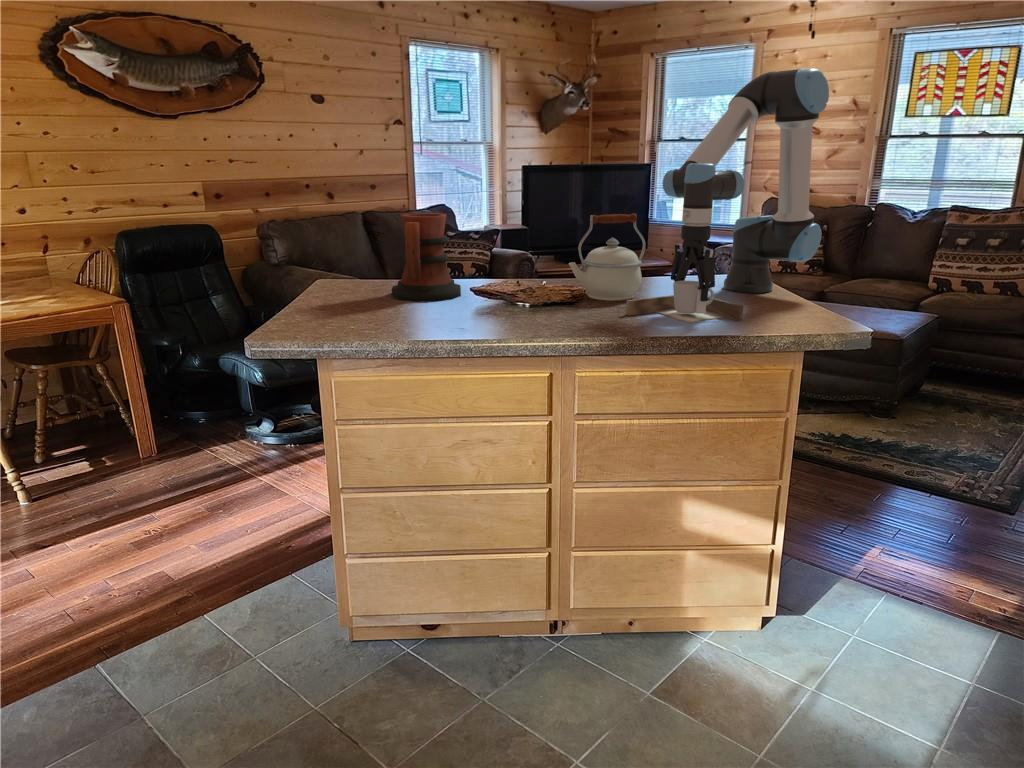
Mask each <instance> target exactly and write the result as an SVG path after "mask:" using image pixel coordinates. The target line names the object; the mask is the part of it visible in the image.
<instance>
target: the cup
mask: <svg viewBox="0 0 1024 768" xmlns="http://www.w3.org/2000/svg"><path fill="white" fill-rule="evenodd" d="M672 287H673V288H672V289H673V295H674V307H675V310H676V311H677V312H679V313H696V302H697V289H698V288H699V287H700V285H699V280H697V281H696V280H685V281H676V282H675V281H673V285H672ZM714 292H715V291H714V290H713V289H712V288H709V290H708V293H710V296H709V297H710V300H709V301H706V305H708V304H710V303H711V302H712V301H713V298H715V294H714Z"/></svg>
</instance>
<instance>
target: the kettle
mask: <svg viewBox="0 0 1024 768" xmlns="http://www.w3.org/2000/svg"><path fill="white" fill-rule="evenodd" d="M628 222H631V223H633V228H634V230H635V232H636V233H637V235H638V236H639V238H640V239H641V241H642V249H641V253H640V255H639V257H638V256H637V255H638V254H636V252H635V251H633V250H631V249H629V248H626V247H623V246H619V244H620V242H619V240H617V239H616V238H614V237H611V238H609V239H608V240H606V242H605V243H606V245H607V246H600V247H596V248H594V249H592V250H591V251H590V252H588V254H587V256H586V257H585V259H584V258H583V255H582V246H583V243H584V241H585V240H586V238H588V236H589V235H590V233H591V232H592V230H593V226H594V225H595V224H597V223H599V224H618V223H619V224H621V223H628ZM646 244H647V243H646V240H645V238H644V236H643V235H642V233H641V232H640V230H639V228H638V227H637V214H636V213H635V212H634V213H633V212H631V214H623V213H619V214H618V213H617V214H616V213H612V214H601V215H596V214H592V215H590V218H589V228H588V230H587V231H586V233H584V235H583V236H582V238H581V239H580V241H579V244H578V247H577V249H578V255H579V256H578V257H579V258H580V261H581V265H580V266H578V265H577V264H576V262H575V261H574V262H573V261H572V262H569V263H568V265H569V267H570V269H571V270H572V273H573V275H574V277H575V278H576V279H577V281H578V282H579V283H580V284H582V287H583V288H584V289H585V290H586V292H588V293H587V297H588V298H590V299H593V300H598V301H609V302H610V301H611V302H617V301H627V300H632V299H633V298H634V297H635V294H634V293H635V292H637V290H638V289H639V288H640V286H641V285H642V280H643V279H642V270H641V266H642V265H643V262H642V260H643V256H645V255H644V254H645V251H646V249H647V248H646V247H647V245H646Z"/></svg>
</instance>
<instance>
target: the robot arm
mask: <svg viewBox="0 0 1024 768" xmlns="http://www.w3.org/2000/svg"><path fill="white" fill-rule="evenodd" d="M829 97H830V89H829V83H828V80H827V77H826V76H825V75H824V73H823V72H822V71H821V70H819V69H818V68H803V67H802V68H797V69H789V70H778V71H775V70H774V71H767V72H765V73H762V74H760V75H758V76H756V77H754V79H752V80H751V81H749V82H748V83H747V84H745V85H744V86H743V87H741V89H740V90H739V91H738V92H737V93H736V94H735V95H734V96H733V97H732V98H731V100H730V101H729V103H728V105H727V110H726V111H725V112H724V114H723V115H722V116H720V117H721V118H720V119H719V120H717V122H716V123H715V125H714V126H713V127H712V128H711V130H710V131H709V132H708V133H707V134H706V136H705V137H704V138H703V140H701V142H700V143H699V144H698V146H697V147H695V149H694V151H693V152H692V153H691V154H690V155H689V156H688V158H687V159H686V160H685V162H684V163H683V164H682V165H681V166H680V168H674V169H669V170H668V171H667V172H666V173H665V174H664V175H663V179H662V188H663V192H664V193H665V195H666V196H669V197H671V198H672V197H673V198H678V199H681V198H682V199H683V205H682V215H681V217H682V218H681V219H682V220H681V223H682V226H681V229H680V230H681V231H680V238H681V240H683V241H682V243H676V244H674V256H673V263H672V267H671V268H672V269H671V273H670V280H671V281H673V282H676V281H686V277H687V275H688V273H689V270H690V267H691V264H692V263H693V264H694V265H695V271H696V275H697V281H699V285H700V287H699V288H698V289H697V302H696V313H697V314H698V313H705V312H706V301H707V300H708V297H709V291H708V290H709V288H711V289H712V288H715V286H716V272H715V270H716V269H715V257H716V256H715V255H716V249H715V248H709V247H708V241H709V240H710V238H711V233H712V232H711V230H712V229H711V228H712V226H711V225H710V224H711V223H712V221H713V219H712V218H713V207H714V206H713V205H714V204H713V202H714V201H723V200H724V201H725V200H726V201H731V200H734V199H737V198H739V197H740V196H741V195H742V193H743V191H744V188H745V180H744V177H743V174H741V173H740V172H739V171H736V170H732V169H729V170H728V169H727V170H716V166H717V165H718V164H719V163H720V161H721V160H722V159H723V157H725V155H726V154H727V153H728V152H729V150H730V149H731V148H732V147H733V146H734V144H735V142H736V141H737V140H738V139H739V138H740V137H741V136H742V134H743V133H744V131H746V129H747V128H748V126H752V125H754V124H755V123H757V121H758V120H759V119H760V118H762V117H764V116H768V115H771V116H772V115H774V117H775V118H774V123H775V124H776V125H777V126H778V127H779V131H780V132H779V133H780V134H779V162H778V163H779V166H778V171H779V172H778V194H777V195H778V199H777V200H778V201H777V212H776V213H775V214H774V215H761V216H760V215H759V216H757V215H756V216H748V217H739V218H737V219H736V220H735V222H734V228H733V239H732V251H731V262H730V263H731V264H730V267H729V269H728V272H727V274H726V278H724V281H723V289H724V290H727V291H730V292H736V293H737V292H738V293H750V294H751V293H752V294H756V293H757V294H759V293H768V292H772V291H773V287H774V286H773V285H774V282H773V280H772V274H771V269H770V261H771V260H777V261H785V262H790V263H805V262H807V261H810V260H811V259H812V257H814V255H816V253H817V251H818V249H819V248H820V247H819V246H821V245H820V243H821V241H822V235H823V234H822V233H823V232H822V229H821V226H820V224H818V223H816V222H814V221H815V220H814V219H815V215H814V214H813V212H811V211H810V192H811V191H810V190H811V189H810V188H811V187H810V186H811V167H812V148H813V147H812V145H813V143H812V141H813V126H814V124H815V123H816V122H817V121H818V120H819V118H820V117H819V116H820V113H822V112H823V111H825V109H826V108H827V105H828V104H827V103H828V101H829Z"/></svg>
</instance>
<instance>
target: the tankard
mask: <svg viewBox="0 0 1024 768" xmlns="http://www.w3.org/2000/svg"><path fill="white" fill-rule="evenodd" d="M399 218H400V221H401V224H402V225H401V226H402V229H403V234H404V235H403V236H401V242H402V245H404V246H405V253H403V255H402V262H403V263H404V267H403V271H402V275H401V279H400V280H398V281H397V284H396V285H393V286H392V287H391V299H395V300H398V301H404V302H413V303H432V302H433V303H434V302H443V301H450V300H453V299H454V300H455V299H457V298H460V297H461V296H462V293H461V292H462V289H461V284H458V283H455V279H453V278H452V277H451V274H450V272H449V267H448V265H447V263H446V262H449V257H448V253H446V252H444V245H447V244H448V243H447V242H448V241H447V240H448V237H447V235H445V229H446V222H447V213H434V212H432V213H431V212H419V213H418V212H417V213H404V214H403V213H402V214H400V217H399Z"/></svg>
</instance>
